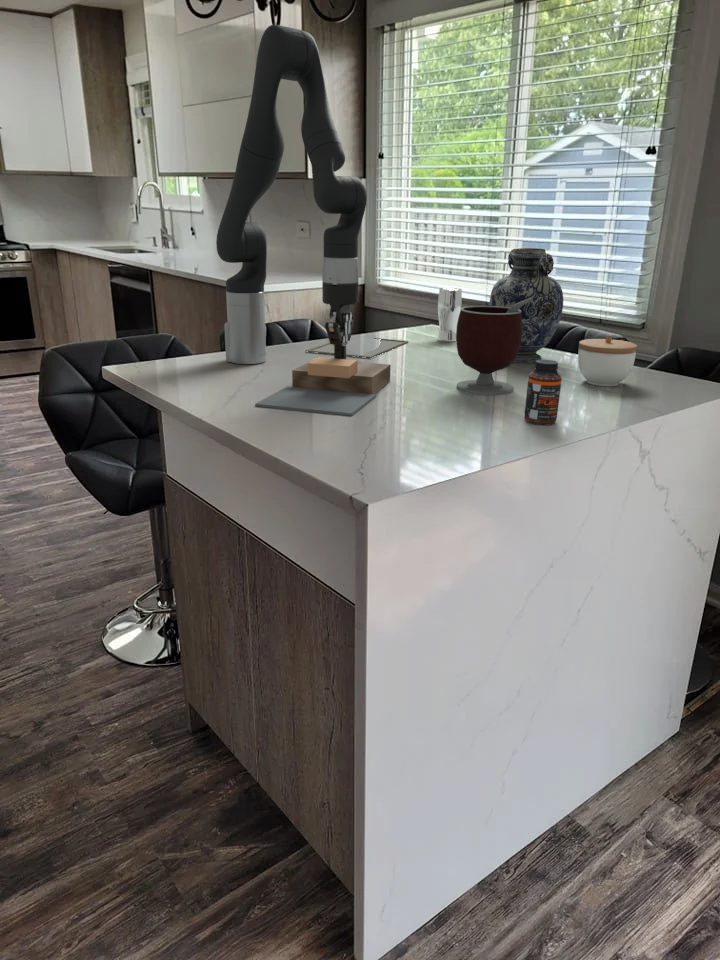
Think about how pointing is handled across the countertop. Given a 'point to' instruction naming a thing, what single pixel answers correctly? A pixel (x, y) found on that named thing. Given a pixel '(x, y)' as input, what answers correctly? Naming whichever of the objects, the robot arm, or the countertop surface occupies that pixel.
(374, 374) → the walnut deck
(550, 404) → the supplement bottle
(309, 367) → the tan rectangular block
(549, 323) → the decorative vase
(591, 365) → the lidded bowl
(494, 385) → the mate gourd
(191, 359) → the countertop surface
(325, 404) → the slate mat
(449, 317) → the beer glass
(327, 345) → the picture frame
